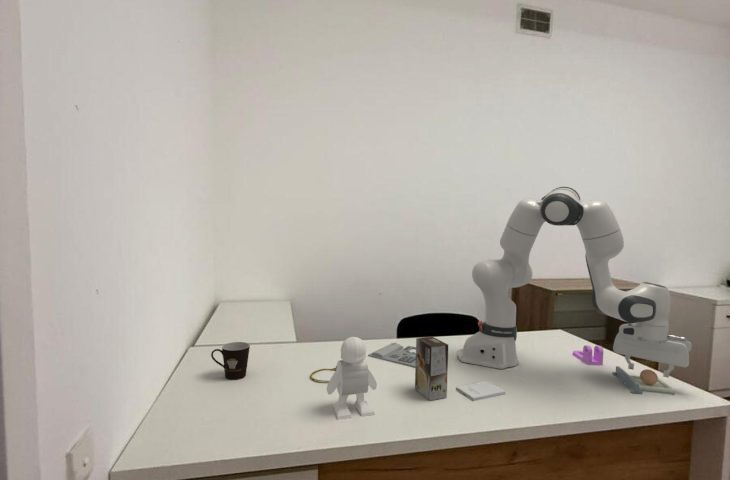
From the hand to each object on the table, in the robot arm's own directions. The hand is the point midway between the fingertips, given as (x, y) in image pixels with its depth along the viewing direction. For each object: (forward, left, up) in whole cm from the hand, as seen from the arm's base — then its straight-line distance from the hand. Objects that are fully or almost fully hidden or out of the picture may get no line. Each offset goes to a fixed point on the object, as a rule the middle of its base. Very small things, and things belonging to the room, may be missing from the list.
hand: (648, 372), depth 127 cm
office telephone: (-81, +3, -5) cm, 81 cm away
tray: (0, 0, -4) cm, 4 cm away
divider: (-6, 0, -4) cm, 8 cm away
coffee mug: (-133, -35, -5) cm, 138 cm away
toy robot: (-89, -45, -5) cm, 100 cm away
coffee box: (-69, -28, -5) cm, 75 cm away
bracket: (-12, +22, -5) cm, 26 cm away
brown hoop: (-102, -25, -5) cm, 105 cm away
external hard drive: (-54, -23, -5) cm, 59 cm away
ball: (0, 0, -4) cm, 4 cm away
